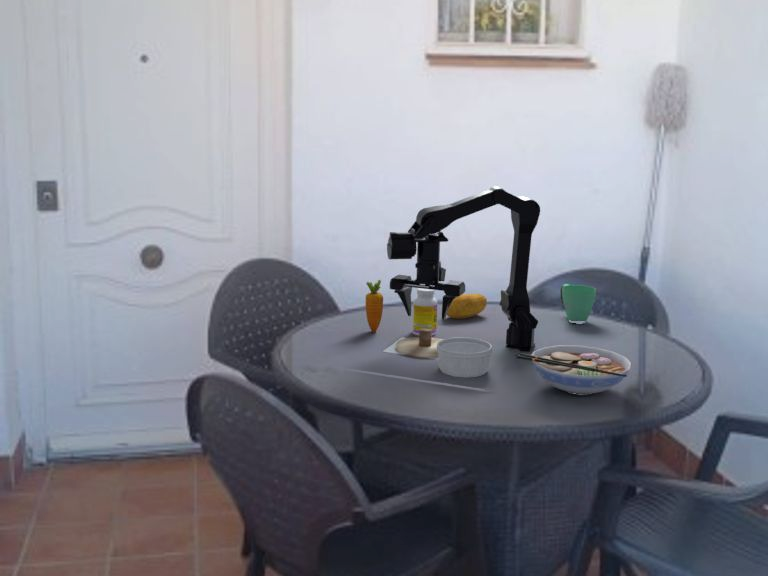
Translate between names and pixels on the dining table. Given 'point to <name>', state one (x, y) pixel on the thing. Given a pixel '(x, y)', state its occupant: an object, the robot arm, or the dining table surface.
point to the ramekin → (464, 356)
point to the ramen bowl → (579, 367)
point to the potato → (467, 306)
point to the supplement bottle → (424, 311)
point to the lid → (419, 345)
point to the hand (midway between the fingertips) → (426, 317)
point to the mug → (577, 301)
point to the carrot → (374, 306)
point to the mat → (393, 350)
